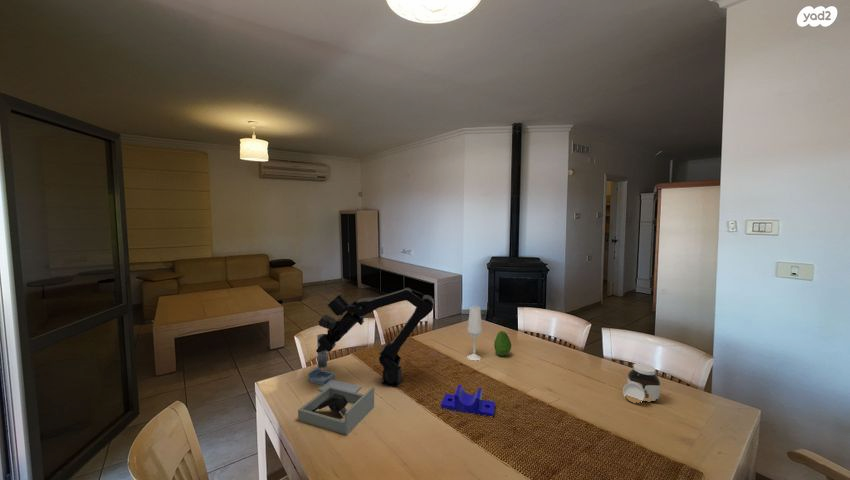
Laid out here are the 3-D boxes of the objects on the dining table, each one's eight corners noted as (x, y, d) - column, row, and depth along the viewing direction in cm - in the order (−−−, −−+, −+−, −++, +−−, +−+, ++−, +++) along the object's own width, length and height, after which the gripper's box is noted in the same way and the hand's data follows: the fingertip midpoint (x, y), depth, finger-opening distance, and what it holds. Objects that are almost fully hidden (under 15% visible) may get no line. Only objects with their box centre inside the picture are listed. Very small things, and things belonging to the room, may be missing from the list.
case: (374, 406, 114) (374, 387, 114) (347, 435, 100) (347, 413, 99) (329, 395, 121) (329, 377, 121) (298, 420, 106) (297, 399, 106)
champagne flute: (480, 355, 158) (481, 306, 156) (481, 361, 151) (483, 310, 149) (466, 354, 158) (467, 305, 157) (466, 360, 152) (468, 309, 150)
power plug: (315, 404, 114) (342, 387, 112) (328, 422, 114) (355, 405, 112) (307, 413, 108) (335, 396, 107) (320, 433, 108) (348, 415, 106)
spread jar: (656, 395, 124) (658, 365, 123) (663, 411, 114) (665, 379, 113) (619, 388, 129) (621, 359, 128) (623, 403, 119) (625, 371, 118)
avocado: (493, 357, 155) (493, 332, 154) (494, 351, 163) (495, 327, 162) (510, 360, 153) (511, 334, 152) (511, 353, 160) (512, 329, 159)
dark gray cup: (328, 365, 132) (328, 335, 131) (320, 368, 130) (320, 337, 129) (324, 362, 135) (323, 333, 134) (316, 365, 132) (315, 335, 131)
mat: (361, 387, 127) (361, 386, 127) (349, 398, 119) (349, 397, 119) (331, 380, 132) (331, 379, 132) (318, 390, 124) (318, 389, 124)
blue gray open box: (335, 377, 135) (335, 368, 134) (324, 385, 128) (323, 376, 128) (320, 373, 137) (319, 365, 137) (308, 381, 131) (308, 373, 131)
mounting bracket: (495, 406, 116) (495, 390, 116) (493, 418, 109) (494, 401, 109) (445, 398, 121) (445, 382, 121) (440, 409, 114) (441, 392, 114)
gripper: (338, 302, 140) (313, 327, 141) (322, 316, 121) (294, 344, 122) (357, 321, 140) (332, 346, 141) (344, 337, 121) (315, 365, 123)
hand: (318, 349), depth 132 cm, fingers closed on dark gray cup, 4 cm apart
